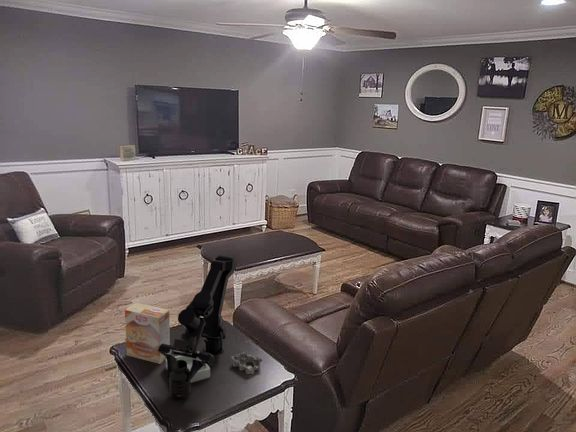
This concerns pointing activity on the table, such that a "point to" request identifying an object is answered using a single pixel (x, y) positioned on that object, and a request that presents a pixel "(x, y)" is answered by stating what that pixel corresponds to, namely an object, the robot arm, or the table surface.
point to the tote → (201, 374)
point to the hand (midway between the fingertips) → (177, 380)
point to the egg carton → (244, 360)
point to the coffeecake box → (146, 331)
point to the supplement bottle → (179, 381)
